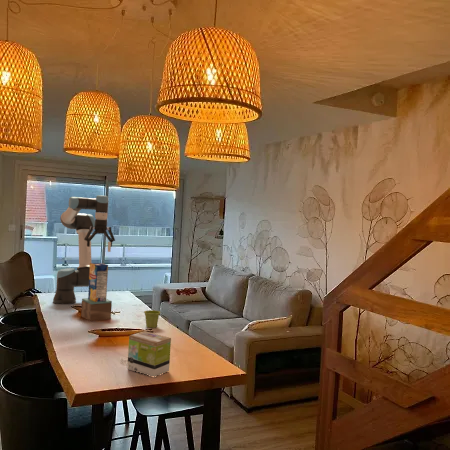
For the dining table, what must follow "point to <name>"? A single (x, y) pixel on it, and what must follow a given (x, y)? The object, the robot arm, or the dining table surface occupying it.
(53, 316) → the dining table surface
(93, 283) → the beverage box
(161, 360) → the tea box
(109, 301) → the box lid
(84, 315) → the storage box
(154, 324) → the plant pot
